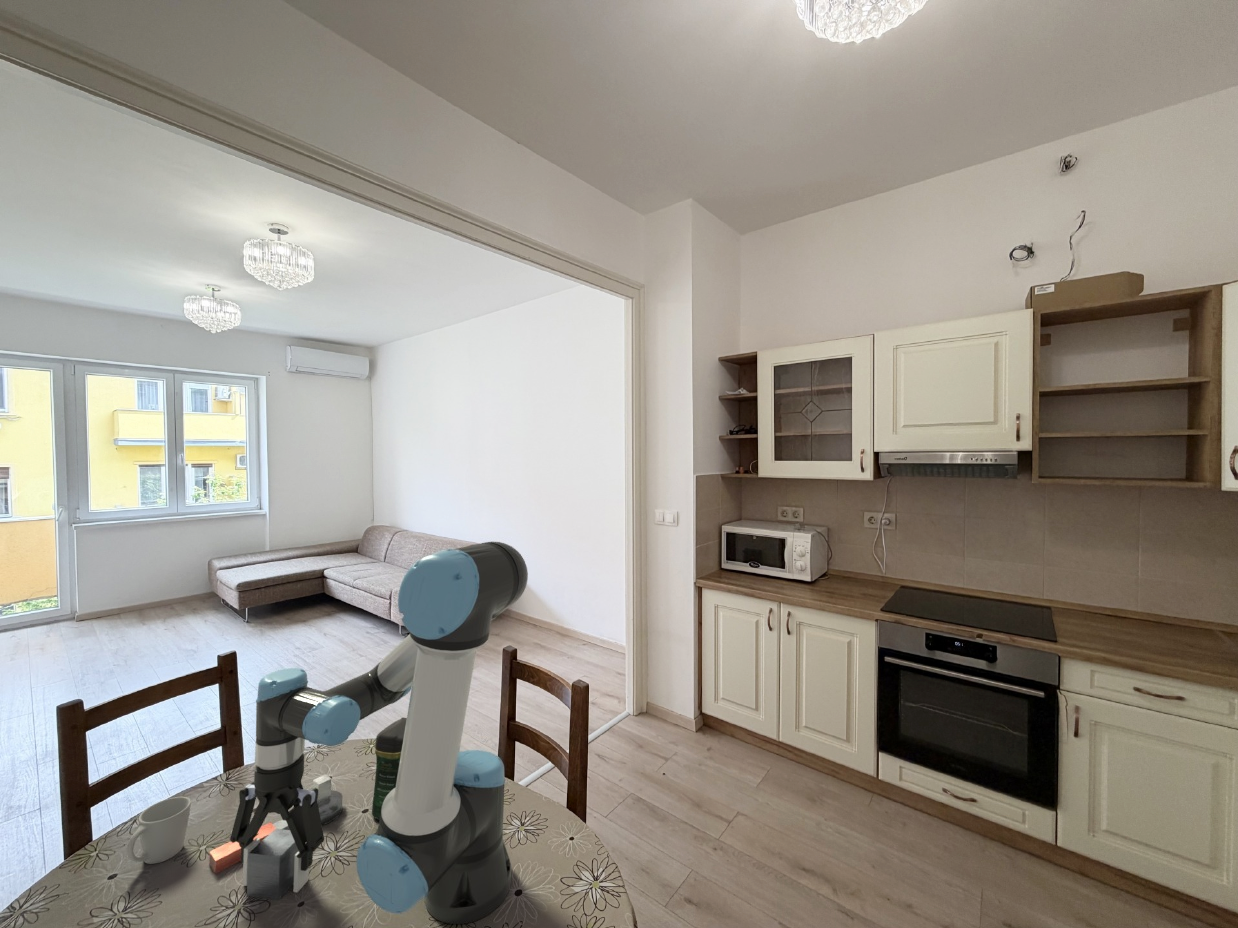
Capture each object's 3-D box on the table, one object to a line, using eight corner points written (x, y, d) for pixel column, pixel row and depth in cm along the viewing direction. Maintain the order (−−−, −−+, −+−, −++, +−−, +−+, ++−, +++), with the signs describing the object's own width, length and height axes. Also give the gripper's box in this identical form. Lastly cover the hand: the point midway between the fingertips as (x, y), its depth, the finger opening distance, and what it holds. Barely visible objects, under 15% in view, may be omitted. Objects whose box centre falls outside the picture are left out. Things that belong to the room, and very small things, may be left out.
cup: (199, 841, 99) (201, 798, 99) (145, 882, 89) (147, 834, 90) (167, 836, 100) (169, 794, 101) (110, 875, 91) (112, 829, 91)
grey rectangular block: (303, 872, 92) (304, 831, 93) (278, 899, 86) (279, 856, 87) (274, 868, 93) (275, 828, 93) (246, 895, 87) (248, 852, 87)
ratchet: (332, 796, 114) (333, 763, 114) (348, 811, 109) (349, 777, 109) (205, 858, 95) (206, 819, 95) (219, 879, 90) (220, 838, 90)
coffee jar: (397, 826, 105) (400, 738, 105) (365, 820, 106) (368, 733, 107) (424, 797, 114) (427, 716, 114) (394, 791, 116) (397, 712, 116)
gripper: (349, 752, 93) (345, 872, 92) (243, 741, 95) (239, 859, 95) (321, 776, 85) (316, 907, 85) (206, 764, 88) (201, 892, 87)
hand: (275, 882), depth 90 cm, fingers open, 9 cm apart
